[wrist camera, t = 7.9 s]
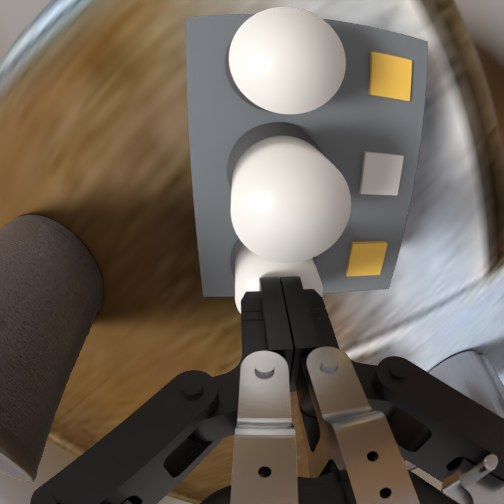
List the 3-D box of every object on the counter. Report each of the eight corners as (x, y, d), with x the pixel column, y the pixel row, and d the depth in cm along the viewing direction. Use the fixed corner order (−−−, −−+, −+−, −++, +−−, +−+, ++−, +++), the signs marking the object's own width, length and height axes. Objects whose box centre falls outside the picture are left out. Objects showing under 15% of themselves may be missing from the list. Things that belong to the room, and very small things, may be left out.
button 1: (315, 230, 13) (328, 258, 11) (307, 293, 15) (316, 326, 13) (233, 231, 13) (233, 261, 11) (236, 296, 15) (236, 330, 13)
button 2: (326, 24, 9) (346, 13, 7) (324, 110, 10) (343, 117, 9) (230, 19, 9) (228, 5, 7) (230, 108, 10) (229, 114, 8)
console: (387, 45, 12) (430, 41, 9) (364, 249, 19) (390, 291, 15) (198, 32, 12) (185, 16, 8) (208, 253, 18) (203, 299, 15)
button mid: (334, 137, 10) (357, 153, 8) (325, 228, 11) (342, 261, 10) (230, 136, 10) (228, 150, 8) (232, 230, 11) (232, 264, 9)
